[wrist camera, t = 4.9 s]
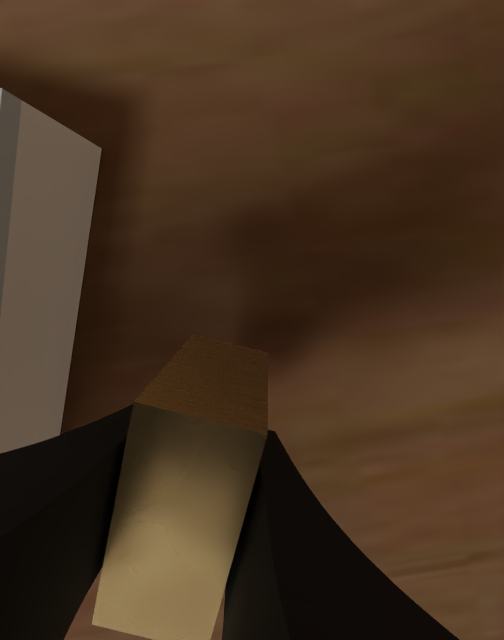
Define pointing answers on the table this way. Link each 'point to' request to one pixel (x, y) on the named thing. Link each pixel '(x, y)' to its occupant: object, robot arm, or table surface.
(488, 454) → the table surface
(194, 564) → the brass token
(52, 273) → the coin box
